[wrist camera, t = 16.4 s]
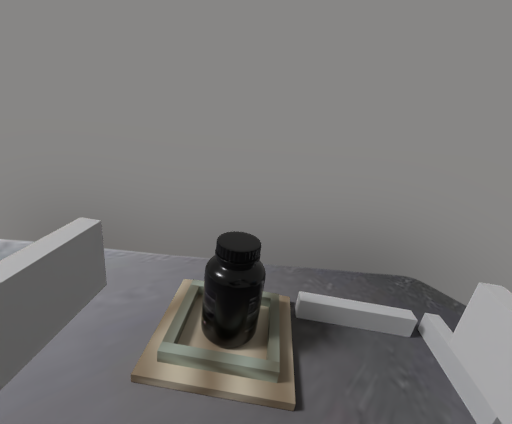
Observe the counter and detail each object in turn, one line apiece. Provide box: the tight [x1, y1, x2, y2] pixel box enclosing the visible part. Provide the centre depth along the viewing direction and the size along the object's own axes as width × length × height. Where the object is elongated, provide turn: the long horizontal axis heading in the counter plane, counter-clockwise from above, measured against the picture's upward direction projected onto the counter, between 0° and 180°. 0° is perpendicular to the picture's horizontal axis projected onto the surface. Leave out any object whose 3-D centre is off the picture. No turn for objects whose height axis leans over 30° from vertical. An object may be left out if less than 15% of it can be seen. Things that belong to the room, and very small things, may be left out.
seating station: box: [131, 279, 295, 411], centre depth 34 cm, size 16×16×2 cm
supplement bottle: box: [201, 232, 266, 348], centre depth 32 cm, size 7×7×12 cm
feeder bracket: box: [295, 291, 502, 424], centre depth 33 cm, size 20×14×3 cm
